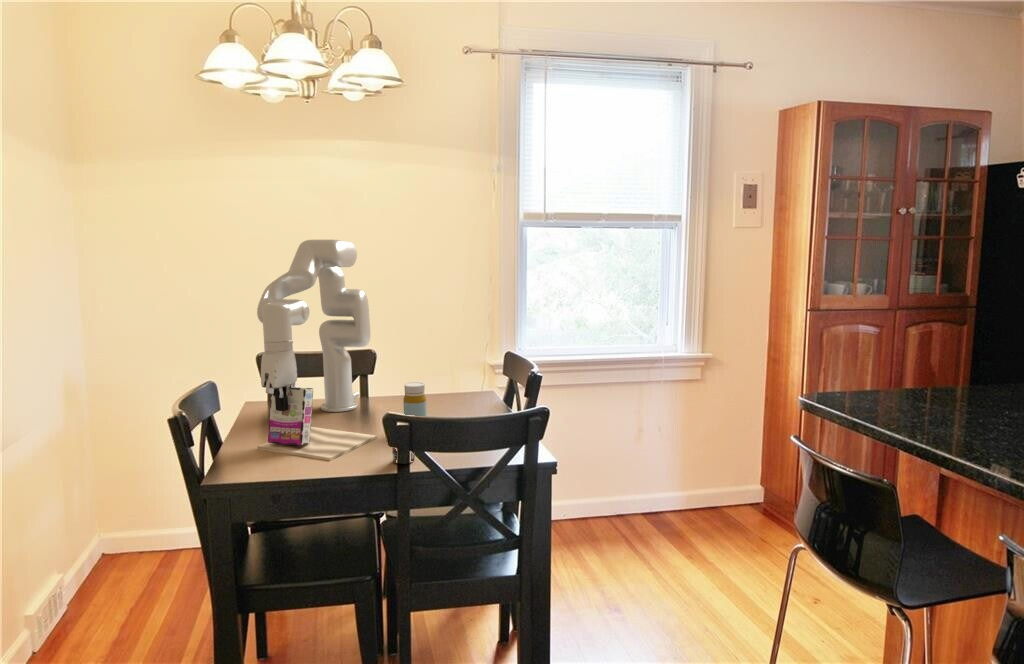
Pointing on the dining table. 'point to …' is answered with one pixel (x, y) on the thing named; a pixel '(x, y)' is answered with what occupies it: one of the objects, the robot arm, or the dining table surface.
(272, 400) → the candy bar box
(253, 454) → the dining table surface
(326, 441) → the birch board
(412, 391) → the bottle
